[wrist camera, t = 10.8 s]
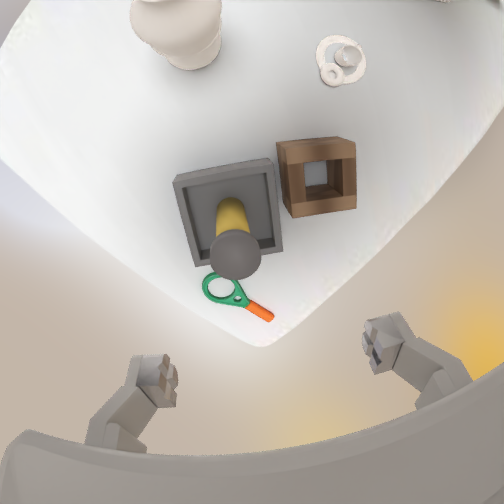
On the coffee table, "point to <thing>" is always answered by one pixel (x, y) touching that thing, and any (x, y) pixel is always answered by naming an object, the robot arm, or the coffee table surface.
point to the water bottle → (179, 29)
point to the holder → (338, 174)
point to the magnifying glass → (230, 299)
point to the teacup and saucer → (340, 61)
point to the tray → (224, 186)
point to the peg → (233, 242)
